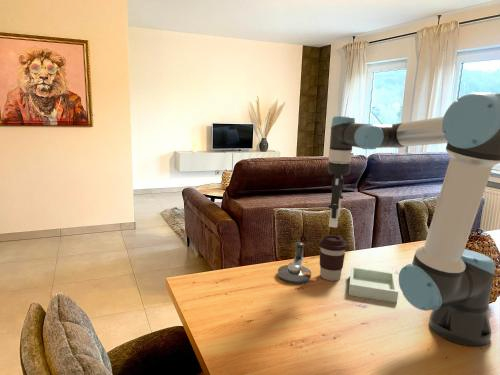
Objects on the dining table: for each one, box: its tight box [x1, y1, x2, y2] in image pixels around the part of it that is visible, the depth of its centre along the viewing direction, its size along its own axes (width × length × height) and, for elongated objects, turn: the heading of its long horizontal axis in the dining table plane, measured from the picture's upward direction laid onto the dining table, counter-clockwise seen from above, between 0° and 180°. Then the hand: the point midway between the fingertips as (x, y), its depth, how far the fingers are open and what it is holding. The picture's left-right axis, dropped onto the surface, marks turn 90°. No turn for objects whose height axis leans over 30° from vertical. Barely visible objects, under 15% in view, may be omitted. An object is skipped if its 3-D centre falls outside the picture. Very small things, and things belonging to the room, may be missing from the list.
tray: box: [348, 266, 399, 304], centre depth 128 cm, size 15×15×4 cm
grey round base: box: [277, 264, 318, 285], centre depth 136 cm, size 12×14×2 cm
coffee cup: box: [318, 234, 348, 282], centre depth 135 cm, size 10×10×15 cm
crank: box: [287, 241, 305, 274], centre depth 139 cm, size 13×5×7 cm, turn 163°
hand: (334, 221), depth 133 cm, fingers open, 13 cm apart
